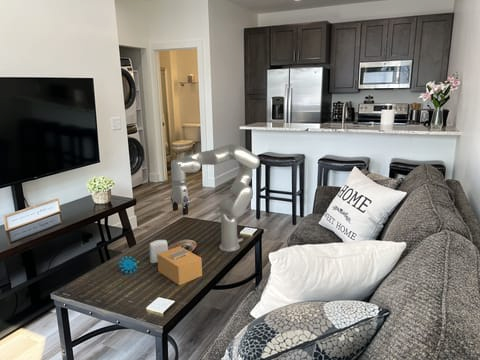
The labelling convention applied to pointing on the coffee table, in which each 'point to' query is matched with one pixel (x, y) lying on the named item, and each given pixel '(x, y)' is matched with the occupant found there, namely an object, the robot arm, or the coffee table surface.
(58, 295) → the coffee table surface
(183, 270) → the tissue box
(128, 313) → the coffee table surface
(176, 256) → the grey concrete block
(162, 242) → the photo printer
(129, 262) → the gear
